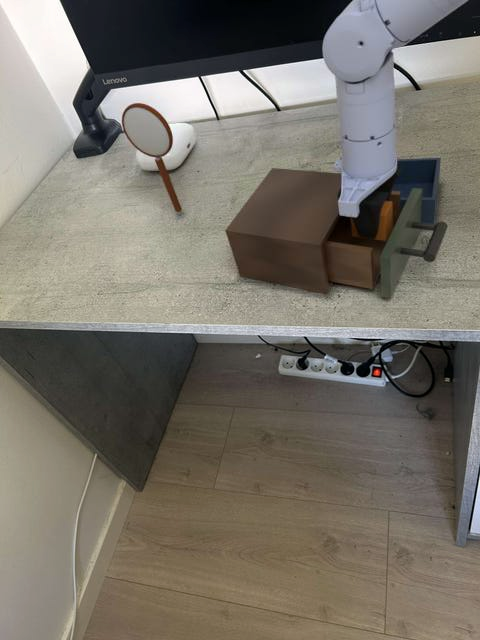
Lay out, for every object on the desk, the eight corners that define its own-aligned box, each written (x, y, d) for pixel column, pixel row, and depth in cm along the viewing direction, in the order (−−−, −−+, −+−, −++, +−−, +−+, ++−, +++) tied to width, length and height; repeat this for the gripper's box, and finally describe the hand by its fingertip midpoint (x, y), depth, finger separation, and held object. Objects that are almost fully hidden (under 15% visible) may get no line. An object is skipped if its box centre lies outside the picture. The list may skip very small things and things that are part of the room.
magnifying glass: (158, 215, 87) (110, 106, 72) (163, 209, 88) (116, 101, 73) (198, 220, 83) (156, 106, 69) (203, 213, 84) (163, 100, 69)
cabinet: (364, 225, 72) (361, 174, 66) (327, 294, 65) (320, 245, 58) (282, 214, 78) (272, 167, 72) (240, 276, 71) (224, 230, 65)
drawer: (452, 234, 65) (456, 191, 60) (424, 305, 59) (427, 264, 54) (334, 219, 73) (330, 180, 68) (298, 280, 66) (291, 242, 61)
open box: (384, 184, 77) (384, 159, 74) (438, 183, 74) (440, 157, 71) (375, 225, 71) (374, 199, 68) (433, 226, 68) (435, 199, 65)
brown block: (393, 227, 62) (392, 201, 59) (386, 241, 61) (385, 215, 58) (359, 223, 64) (357, 197, 62) (352, 236, 63) (349, 211, 60)
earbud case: (204, 140, 101) (196, 115, 97) (180, 176, 94) (170, 151, 90) (162, 142, 105) (153, 118, 101) (135, 177, 98) (125, 153, 94)
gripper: (354, 94, 58) (361, 190, 68) (306, 163, 51) (321, 260, 60) (415, 94, 55) (413, 195, 64) (373, 168, 47) (377, 269, 57)
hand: (372, 227), depth 62 cm, fingers closed on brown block, 3 cm apart
